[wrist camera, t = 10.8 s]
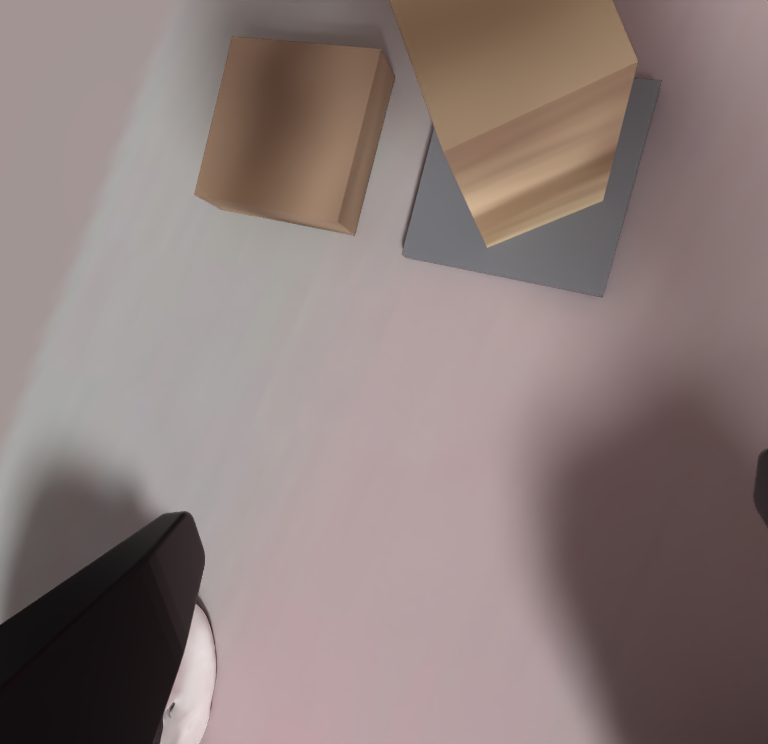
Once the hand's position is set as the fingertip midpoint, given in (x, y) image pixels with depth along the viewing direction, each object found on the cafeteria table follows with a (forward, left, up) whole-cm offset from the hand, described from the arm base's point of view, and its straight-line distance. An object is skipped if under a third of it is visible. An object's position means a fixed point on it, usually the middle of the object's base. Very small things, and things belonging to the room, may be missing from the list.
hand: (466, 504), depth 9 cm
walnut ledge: (+12, -10, -13) cm, 21 cm away
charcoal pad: (+2, -10, -13) cm, 17 cm away
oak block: (+2, -10, -13) cm, 17 cm away
